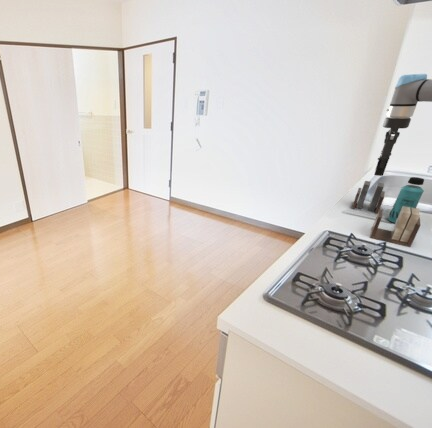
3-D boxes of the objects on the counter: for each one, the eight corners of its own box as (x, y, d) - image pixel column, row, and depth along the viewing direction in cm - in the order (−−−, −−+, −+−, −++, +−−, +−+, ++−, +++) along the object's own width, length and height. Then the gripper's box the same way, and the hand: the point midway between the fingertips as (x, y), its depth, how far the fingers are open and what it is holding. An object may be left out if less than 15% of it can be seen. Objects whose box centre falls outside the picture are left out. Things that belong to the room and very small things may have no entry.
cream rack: (409, 237, 106) (422, 208, 101) (410, 247, 100) (424, 217, 95) (371, 229, 113) (382, 201, 108) (370, 237, 107) (381, 209, 102)
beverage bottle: (383, 219, 119) (402, 174, 111) (404, 222, 116) (424, 176, 108) (389, 226, 114) (409, 179, 106) (411, 229, 111) (433, 181, 103)
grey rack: (377, 209, 128) (388, 182, 123) (376, 216, 122) (387, 188, 117) (352, 205, 134) (361, 179, 128) (350, 211, 128) (359, 184, 122)
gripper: (386, 114, 120) (369, 166, 129) (384, 119, 106) (365, 177, 116) (410, 114, 115) (391, 168, 125) (412, 120, 102) (390, 180, 111)
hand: (378, 172), depth 120 cm, fingers closed on cream book, 8 cm apart
